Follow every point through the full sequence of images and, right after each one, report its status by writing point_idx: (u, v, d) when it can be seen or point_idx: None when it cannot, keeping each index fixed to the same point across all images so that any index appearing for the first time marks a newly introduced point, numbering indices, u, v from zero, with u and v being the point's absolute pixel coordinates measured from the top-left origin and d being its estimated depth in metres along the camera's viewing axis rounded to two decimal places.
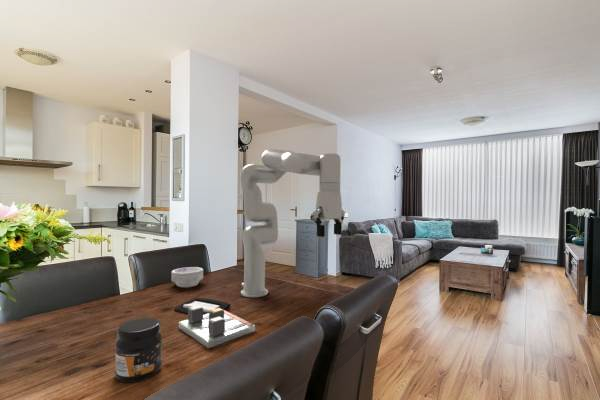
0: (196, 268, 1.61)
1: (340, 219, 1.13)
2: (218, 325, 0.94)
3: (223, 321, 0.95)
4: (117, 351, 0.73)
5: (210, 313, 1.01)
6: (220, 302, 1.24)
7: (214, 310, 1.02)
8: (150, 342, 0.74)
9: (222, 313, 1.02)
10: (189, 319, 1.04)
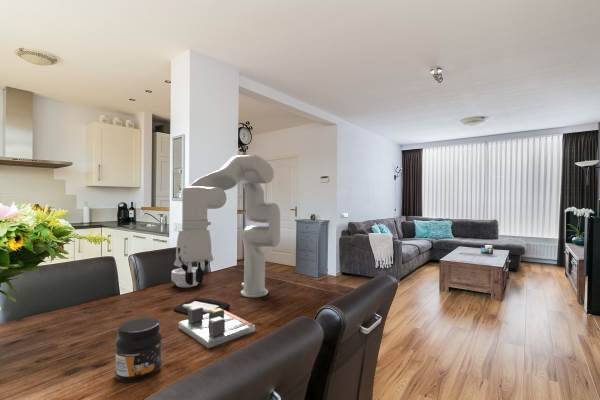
0: (196, 268, 1.61)
1: (203, 264, 0.98)
2: (218, 325, 0.94)
3: (223, 321, 0.95)
4: (117, 351, 0.73)
5: (210, 313, 1.01)
6: (219, 302, 1.24)
7: (214, 310, 1.02)
8: (150, 342, 0.74)
9: (222, 313, 1.02)
10: (189, 319, 1.04)
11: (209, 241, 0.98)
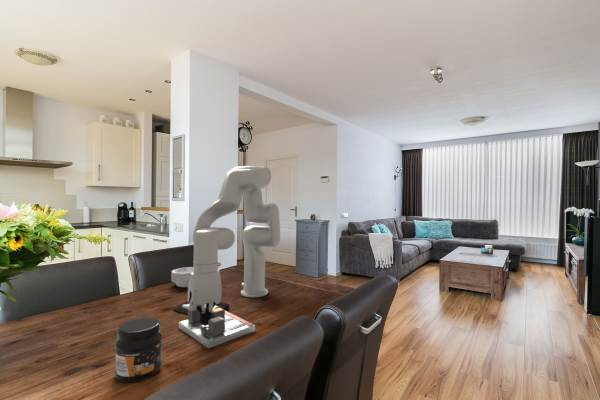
0: None
1: (211, 306, 1.00)
2: (218, 325, 0.94)
3: (223, 321, 0.95)
4: (117, 351, 0.73)
5: (211, 313, 1.02)
6: None
7: (215, 310, 1.02)
8: (150, 342, 0.74)
9: (222, 313, 1.03)
10: (189, 319, 1.04)
11: (219, 283, 1.01)
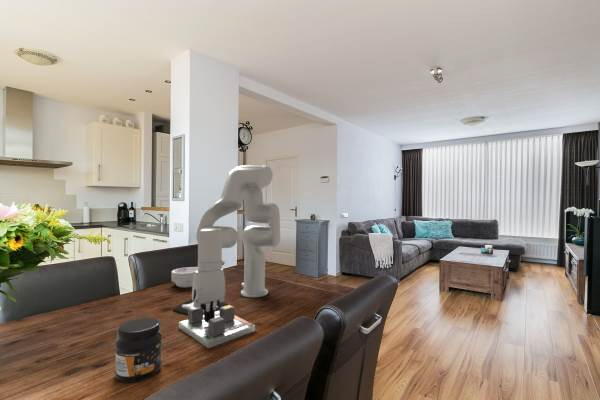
0: (196, 268, 1.61)
1: (215, 304, 1.01)
2: (218, 325, 0.94)
3: (223, 321, 0.95)
4: (117, 351, 0.73)
5: (221, 310, 1.04)
6: (219, 303, 1.24)
7: (225, 307, 1.05)
8: (150, 342, 0.74)
9: (232, 310, 1.05)
10: (189, 319, 1.04)
11: (223, 281, 1.02)
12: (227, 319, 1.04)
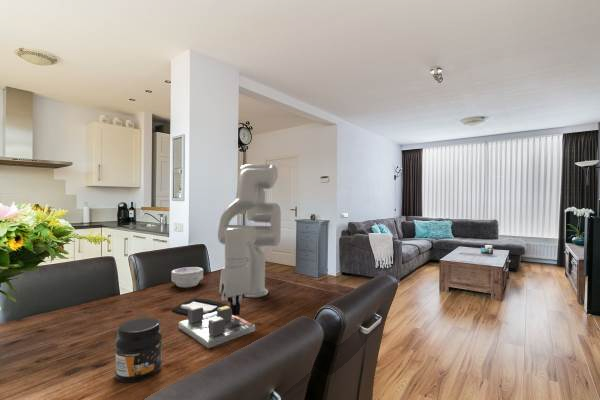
0: (196, 268, 1.61)
1: (240, 297, 1.08)
2: (218, 325, 0.94)
3: (223, 321, 0.95)
4: (117, 351, 0.73)
5: (218, 311, 1.04)
6: (218, 303, 1.23)
7: (222, 308, 1.04)
8: (150, 342, 0.74)
9: (229, 311, 1.04)
10: (189, 319, 1.04)
11: (248, 276, 1.09)
12: None
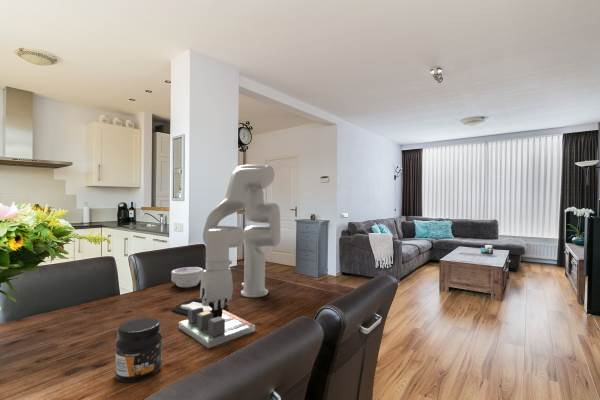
0: (196, 268, 1.61)
1: (223, 302, 1.03)
2: (218, 325, 0.94)
3: (223, 321, 0.95)
4: (117, 351, 0.73)
5: (198, 316, 0.99)
6: None
7: (203, 313, 0.99)
8: (150, 342, 0.74)
9: (210, 316, 0.99)
10: (189, 319, 1.04)
11: (231, 280, 1.04)
12: (205, 326, 0.98)
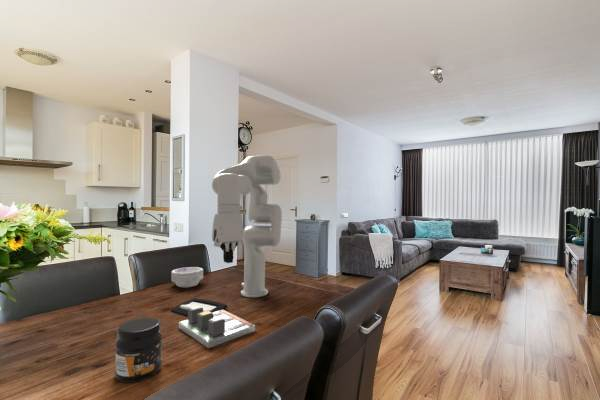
0: (196, 268, 1.61)
1: (234, 245, 1.06)
2: (218, 325, 0.94)
3: (223, 321, 0.95)
4: (117, 351, 0.73)
5: (199, 316, 0.99)
6: (217, 303, 1.23)
7: (203, 313, 0.99)
8: (150, 342, 0.74)
9: (211, 316, 0.99)
10: (189, 319, 1.04)
11: (241, 224, 1.07)
12: (205, 326, 0.98)
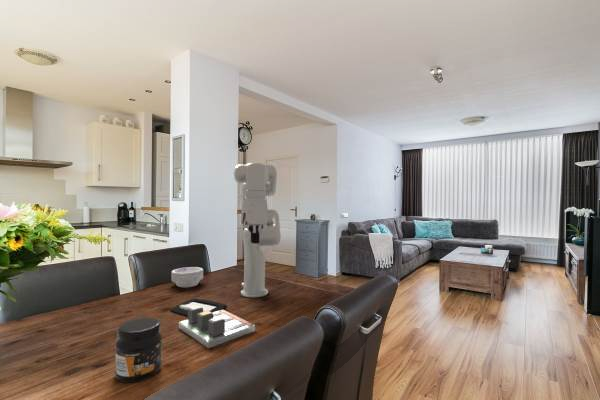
0: (196, 268, 1.61)
1: (260, 227, 1.18)
2: (218, 325, 0.94)
3: (223, 321, 0.95)
4: (117, 351, 0.73)
5: (199, 316, 0.99)
6: (217, 303, 1.23)
7: (203, 313, 0.99)
8: (150, 342, 0.74)
9: (211, 316, 0.99)
10: (189, 319, 1.04)
11: (266, 209, 1.19)
12: (205, 326, 0.98)
